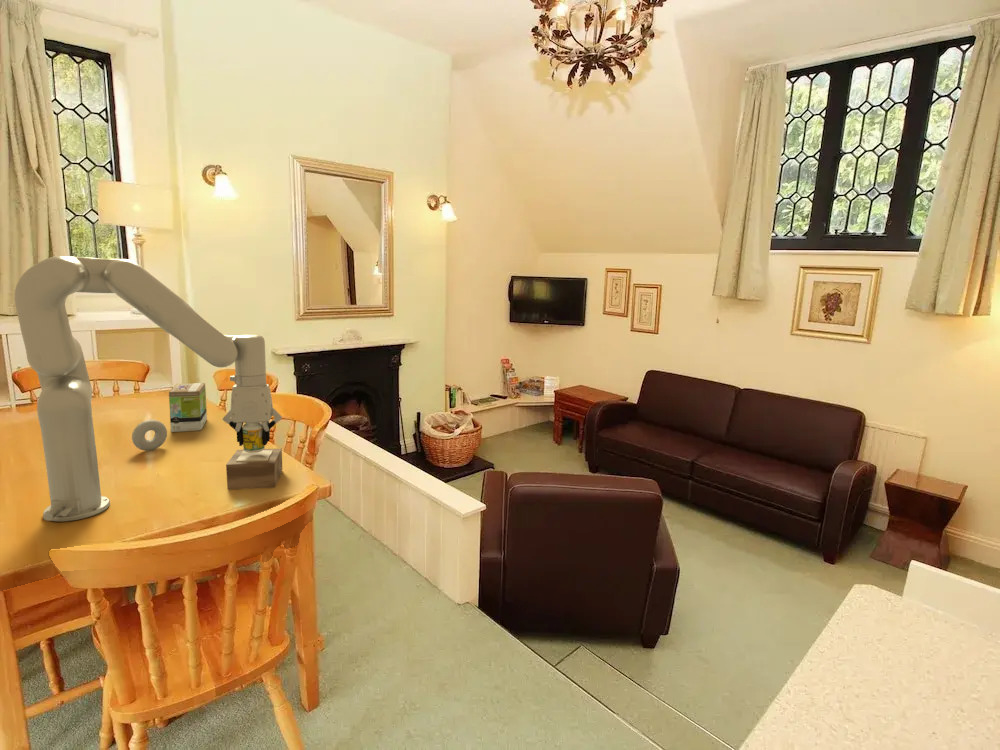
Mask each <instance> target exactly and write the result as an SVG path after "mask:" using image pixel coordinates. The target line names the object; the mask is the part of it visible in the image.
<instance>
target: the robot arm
mask: <svg viewBox="0 0 1000 750" xmlns="http://www.w3.org/2000/svg"><path fill="white" fill-rule="evenodd" d="M75 293H81V294H82V293H84V294H85V293H87V294H115V295H116V296H118V297H120V298H121V300H123V301H125V302H126V303H127V304H128V305H130V306H132V307H133V308H134V309H135V310H137V311H138V312H139V313H141V315H143V316H144V317H146V318H147V319H149V320H150V321H151V322H152V323H153V324H155V325H156V326H158V327H159V328H160V329H162V330H163V331H164V332H166V333H168V334H169V335H171V336H172V337H174V338H175V339H176V340H178V341H179V342H181V343H182V344H183V345H184V346H186V347H187V348H189V350H191V351H192V352H193V353H195V354H196V355H197V356H199V357H200V358H202V359H203V360H204V361H206V362H207V363H209V365H212V366H214V367H217V368H227V367H229V366H232V365H233V364H234V369H235V370H234V371H235V374H234V375H230V376H229V381H230V382H234V385H233V386H232V387H231V388H232V389H231V397H230V409H229V411H228V412H227V413H226V414H225V415H224V416H223V417H222V421H224V422H225V423H226V424H228V425H229V427H231V428H232V429H233V430H234V431H235V432H236V443H238V444H239V447H243V430H242V427H243V425H244V424H246V423H259V422H260V423H262V425H263V428H264V431H263V445H265V446H266V445H267V444H268V442H270V440H271V434H270V431H271V429H272V428H273V427H274V426H275V425H276V424H278V423H279V422H280V421H281V420H282V418H283V416H282V415H281V414H280V412H278V411H277V410H276V409H275V408H274V406H273V398H272V393H271V388H270V385H269V383H267V366H266V341H265V338H264V337H263V336H262V335H259V334H249V333H248V334H239V335H230V334H223V333H222V332H220V331H219V330H217V329H216V328H215V327H214V326H213V325H212V324H210V323H209V322H208V321H206V320H205V319H204V318H203V317H202V316H200V314H198V312H196V311H195V309H193V308H192V306H191V305H189V304H188V303H187V302H186V301H185V300H184V299H182V298H181V297H180V296H179V295H178V294H176V293H175V292H174V291H173V290H171V289H170V288H169V287H167V286H166V285H165V284H164V283H162V282H161V281H160V280H159V279H157V278H156V277H155V276H153V275H152V274H151V273H150V272H149V271H147V270H146V269H145V268H143V266H141V264H139V263H137V262H135V261H133V260H131V259H127V258H100V257H99V258H98V257H96V258H95V257H84V256H82V257H81V256H69V255H54V256H50V257H47V258H45V259H43V260H41V261H39V262H37V263H36V264H34V265H32V266H30V267H29V268H28V269H27V270H26V271H25V272H24V273H22V275H20V278H18V281H17V283H16V285H15V289H14V304H15V309H16V313H17V315H16V316H17V319H18V323H19V328H20V332H21V337H22V339H23V340H22V341H23V344H24V348H25V353H26V359H27V360H26V361H27V363H28V364H29V366H30V367H31V368H32V370H34V371H35V372H36V374H37V377H38V381H39V386H40V388H41V389H40V390H41V392H40V394H39V396H38V399H37V405H36V413H37V418H38V422H39V427H40V432H41V433H40V434H41V438H42V445H43V454H44V459H45V460H44V461H45V470H46V475H47V484H48V485H47V486H48V491H49V492H48V494H49V499H50V505H49V506H47V507H46V508H45V509H44V510H43V513H42V518H43V520H45V521H50V522H71V521H77V520H78V521H79V520H81V519H86V518H89V517H93V516H95V515H98V514H100V513H103V512H104V511H106V510H107V508H109V506H110V502H111V501H110V498H108V497H106V496H104V495H102V492H101V484H100V483H101V482H100V473H99V464H98V463H99V462H98V455H97V453H98V452H97V445H96V437H95V429H94V421H93V413H92V411H93V410H92V400H93V399H92V398H93V389H92V385H91V380H90V375H89V372H88V368H87V364H86V360H85V355H84V352H83V349H82V348H83V347H82V346H81V344H80V342H79V340H78V339H76V338H75V337H74V336H73V333H72V330H71V327H70V321H69V316H68V313H67V308H66V300H67V298H68V297H69V296H70V295H73V294H75ZM272 417H273V418H274V419H272ZM271 419H272V420H271Z"/></svg>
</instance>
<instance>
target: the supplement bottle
mask: <svg viewBox="0 0 1000 750" xmlns="http://www.w3.org/2000/svg"><path fill="white" fill-rule="evenodd" d="M242 430H243V445H242V447H243V450H244V451H245V452H247V453H256V452H261V451H263V450H264V449H266V448H265V446H266V445H263V431H264V428H263V425H262V423H261V422H259V423H243V426H242Z"/></svg>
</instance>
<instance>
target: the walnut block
mask: <svg viewBox="0 0 1000 750" xmlns="http://www.w3.org/2000/svg"><path fill="white" fill-rule="evenodd" d="M282 450H283V449H282V448H264V450H263V451H261V452H256V453H247V452H245V451H244V449H237V450H236V451H235V452H234V454H233V455H232V456H231V458H230V459H229V460H228V462H227V463H226V464H225V466H226V467H225V468H226V483H227V484H226V485H227V487H226V488H227V490H241V489H247V490H248V489H265V488H266V489H267V488H268V489H269V488H276V486H277V484H278V483H279V480H280V478H281V476H282V474H283V471H282V470H283V453H282V452H283V451H282ZM280 475H281V476H280ZM279 477H280V478H279Z"/></svg>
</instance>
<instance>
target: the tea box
mask: <svg viewBox="0 0 1000 750" xmlns="http://www.w3.org/2000/svg"><path fill="white" fill-rule="evenodd" d="M206 393H207V392H206V383H205V382H197V383H196V382H195V383H193V382H192V383H191V382H190V383H186V382H185V383H176V384H175V385H174V386H173V387H172V388H171V389H170V390H169V391H168V400H169V401H168V404H169V423H170V424H169V425H170V432H171V433H173V432H174V433H177V432H178V433H179V432H181V433H182V432H193V431H195V432H196V431H201V430H202V429H203V427H204V425H205V424H206V422H207V420H208V417H207V415H208V413H207V410H208V409H207V394H206Z"/></svg>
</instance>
